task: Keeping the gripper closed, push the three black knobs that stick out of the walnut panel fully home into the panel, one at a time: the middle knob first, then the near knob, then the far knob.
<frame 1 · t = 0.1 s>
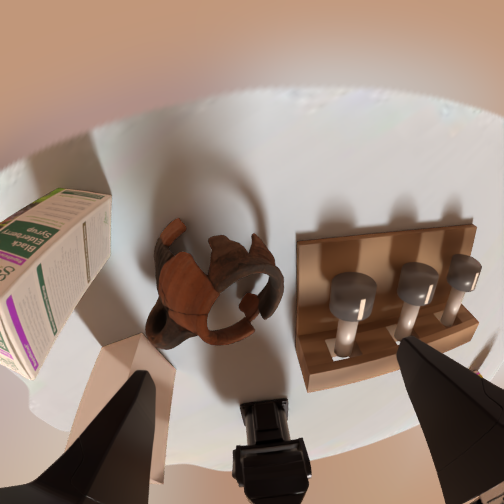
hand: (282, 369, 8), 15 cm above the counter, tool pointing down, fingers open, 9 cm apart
syrup box: (85, 221, 20), on the counter
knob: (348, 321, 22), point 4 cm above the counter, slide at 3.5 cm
pottery mug: (204, 269, 23), on the counter
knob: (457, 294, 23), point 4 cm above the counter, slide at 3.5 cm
knob middle: (411, 307, 23), point 4 cm above the counter, slide at 3.5 cm
soap dispenser: (131, 359, 28), on the counter
panel: (386, 322, 28), on the counter
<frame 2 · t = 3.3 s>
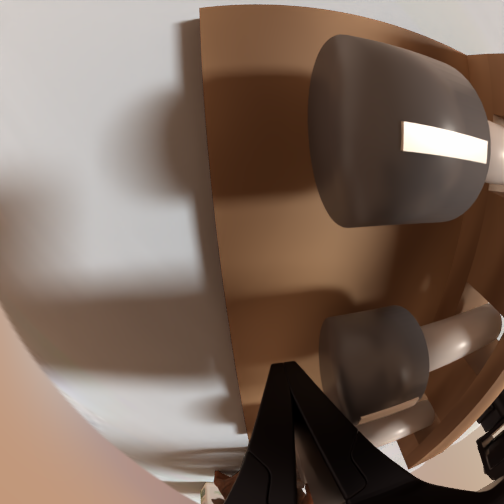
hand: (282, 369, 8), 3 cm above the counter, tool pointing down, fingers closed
syrup box: (226, 485, 24), on the counter
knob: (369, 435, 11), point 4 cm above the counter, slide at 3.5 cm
pottery mug: (264, 461, 20), on the counter
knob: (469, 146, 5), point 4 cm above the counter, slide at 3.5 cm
knob middle: (430, 347, 8), point 4 cm above the counter, slide at 2.8 cm, touching gripper
panel: (452, 282, 11), on the counter
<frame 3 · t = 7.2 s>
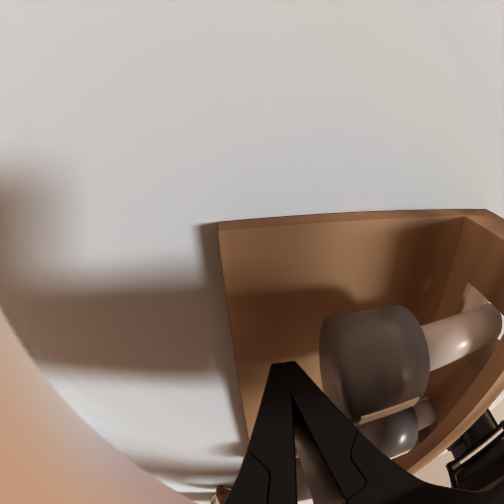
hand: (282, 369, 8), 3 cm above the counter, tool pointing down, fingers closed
syrup box: (232, 494, 27), on the counter
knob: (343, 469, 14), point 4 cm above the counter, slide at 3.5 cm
pottery mug: (256, 479, 23), on the counter
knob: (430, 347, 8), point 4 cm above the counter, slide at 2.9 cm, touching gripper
knob middle: (421, 415, 11), point 4 cm above the counter, slide at 0.0 cm
panel: (416, 369, 14), on the counter
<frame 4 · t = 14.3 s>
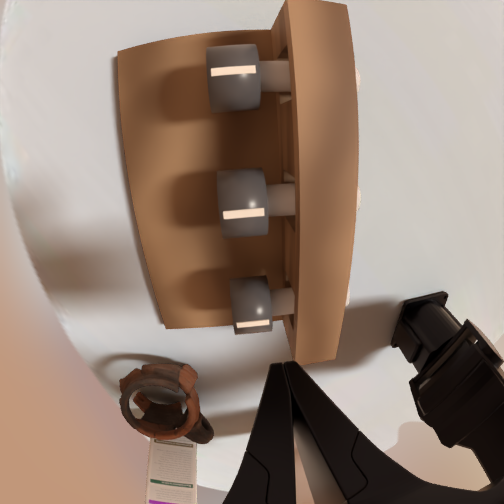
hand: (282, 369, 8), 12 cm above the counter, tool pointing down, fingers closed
syrup box: (176, 418, 31), on the counter
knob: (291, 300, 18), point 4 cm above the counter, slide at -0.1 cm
pottery mug: (172, 384, 27), on the counter
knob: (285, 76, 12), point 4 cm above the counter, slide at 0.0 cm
knob middle: (290, 199, 15), point 4 cm above the counter, slide at 0.0 cm
soap dispenser: (300, 413, 32), on the counter
panel: (299, 184, 18), on the counter
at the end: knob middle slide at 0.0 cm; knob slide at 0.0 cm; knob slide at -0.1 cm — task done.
